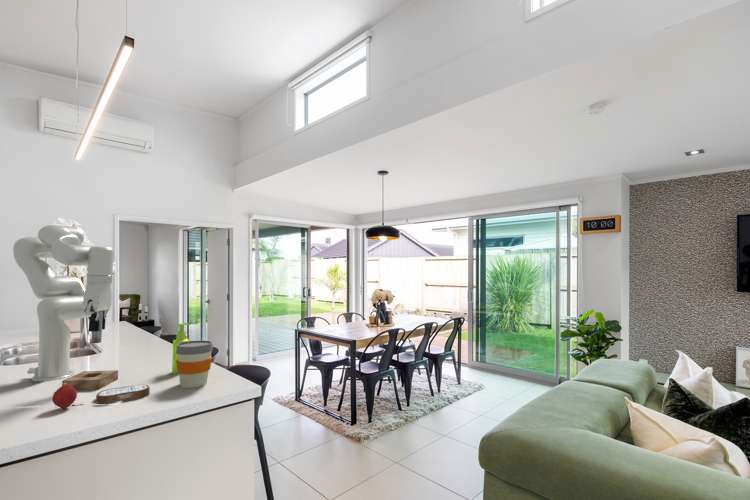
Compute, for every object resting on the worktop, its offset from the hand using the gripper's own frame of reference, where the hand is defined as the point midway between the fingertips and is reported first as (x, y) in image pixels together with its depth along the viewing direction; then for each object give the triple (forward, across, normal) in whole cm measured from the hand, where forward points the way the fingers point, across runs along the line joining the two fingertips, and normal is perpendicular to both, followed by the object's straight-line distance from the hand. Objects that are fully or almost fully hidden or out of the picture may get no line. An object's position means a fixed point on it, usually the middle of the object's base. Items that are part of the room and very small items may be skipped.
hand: (96, 329), depth 139 cm
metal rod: (+5, 0, 0) cm, 5 cm away
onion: (+20, +22, +4) cm, 30 cm away
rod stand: (+21, 0, -1) cm, 21 cm away
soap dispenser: (+20, -17, +24) cm, 36 cm away
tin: (+18, +10, +15) cm, 26 cm away
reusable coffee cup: (+20, +1, +35) cm, 40 cm away
